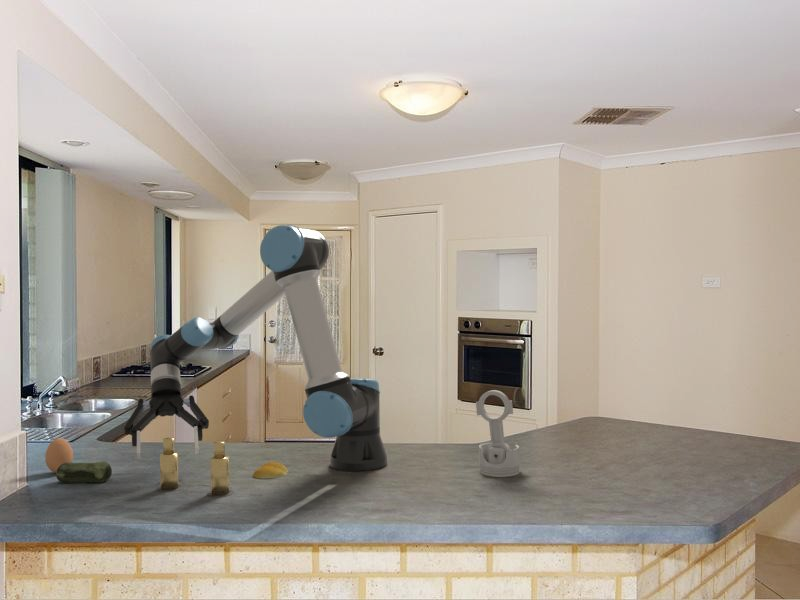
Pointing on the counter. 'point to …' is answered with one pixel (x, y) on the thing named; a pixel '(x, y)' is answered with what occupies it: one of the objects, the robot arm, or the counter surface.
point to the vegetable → (83, 472)
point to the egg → (58, 454)
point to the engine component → (497, 442)
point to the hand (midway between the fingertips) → (168, 453)
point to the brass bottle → (169, 466)
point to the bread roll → (270, 471)
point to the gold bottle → (219, 470)
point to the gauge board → (195, 484)
